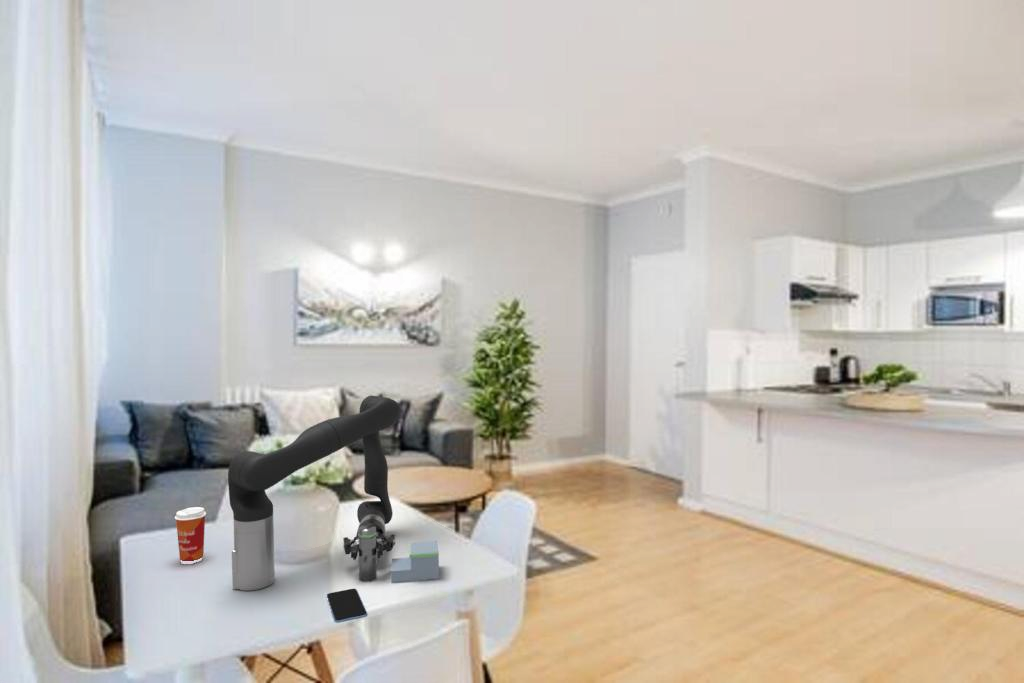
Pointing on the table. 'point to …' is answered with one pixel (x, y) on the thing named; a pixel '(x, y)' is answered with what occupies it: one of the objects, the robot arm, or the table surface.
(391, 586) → the table surface
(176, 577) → the table surface
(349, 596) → the smartphone
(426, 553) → the blue-grey stepped block
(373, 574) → the steel thermos flask
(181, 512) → the paper cup
